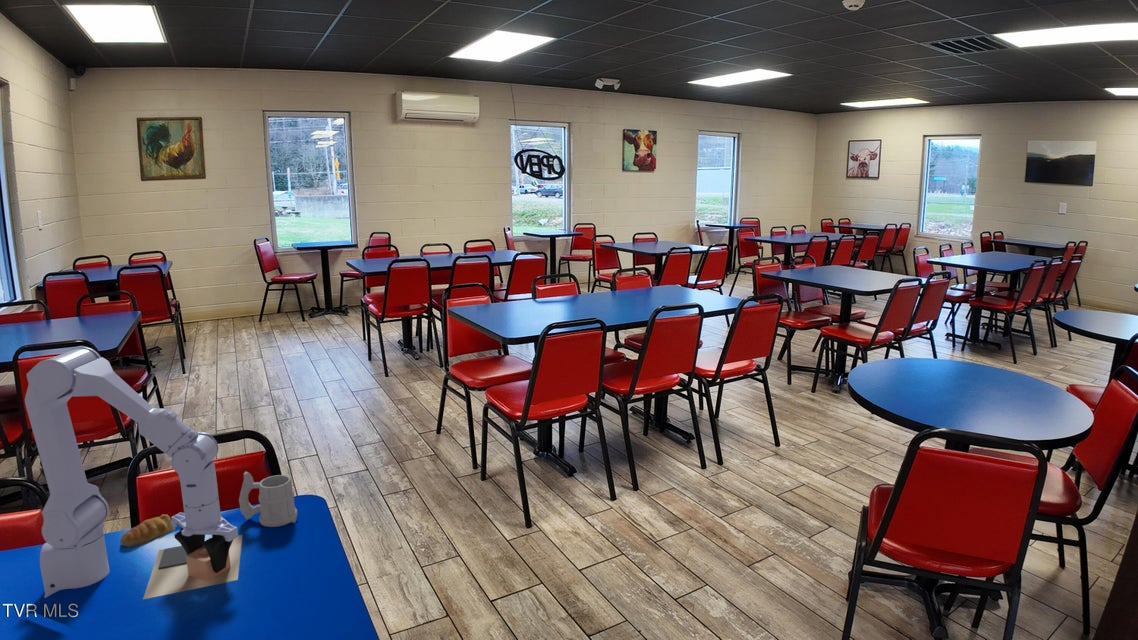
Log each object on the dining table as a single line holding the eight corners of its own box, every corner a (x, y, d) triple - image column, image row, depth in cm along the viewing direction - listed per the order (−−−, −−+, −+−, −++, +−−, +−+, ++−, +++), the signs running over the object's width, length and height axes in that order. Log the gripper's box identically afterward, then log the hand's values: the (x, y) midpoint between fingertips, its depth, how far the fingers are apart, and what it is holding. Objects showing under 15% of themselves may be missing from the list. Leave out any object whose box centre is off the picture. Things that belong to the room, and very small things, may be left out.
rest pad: (158, 569, 125) (158, 567, 125) (164, 550, 132) (164, 549, 131) (200, 561, 128) (200, 559, 128) (204, 543, 134) (204, 541, 134)
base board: (143, 604, 117) (142, 599, 116) (159, 554, 132) (159, 550, 132) (238, 584, 122) (237, 579, 122) (242, 539, 138) (242, 534, 137)
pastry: (128, 553, 132) (125, 536, 132) (116, 542, 137) (113, 525, 136) (178, 534, 140) (176, 518, 139) (166, 524, 144) (163, 508, 143)
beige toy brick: (188, 575, 123) (185, 552, 122) (211, 561, 128) (208, 538, 127) (207, 581, 121) (205, 558, 120) (230, 567, 126) (228, 544, 125)
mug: (291, 531, 141) (286, 479, 138) (234, 533, 140) (228, 480, 137) (303, 513, 148) (298, 463, 146) (248, 515, 147) (243, 465, 145)
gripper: (152, 502, 121) (162, 569, 123) (210, 517, 115) (219, 587, 118) (187, 486, 127) (195, 550, 130) (244, 500, 122) (251, 566, 125)
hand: (209, 566), depth 124 cm, fingers closed on beige toy brick, 5 cm apart
